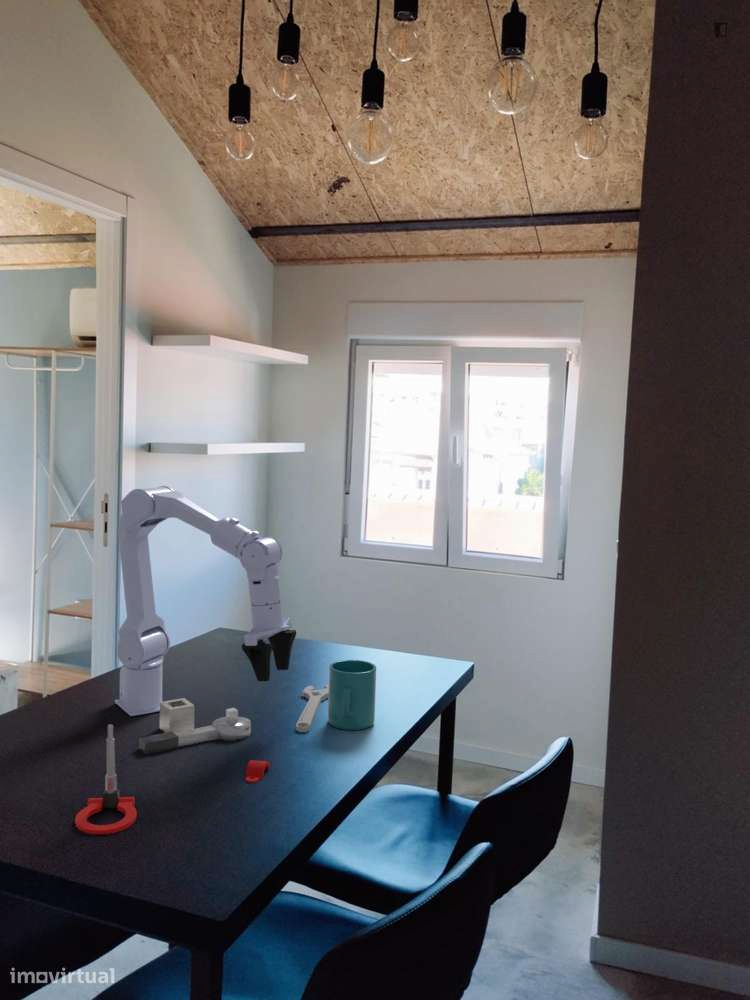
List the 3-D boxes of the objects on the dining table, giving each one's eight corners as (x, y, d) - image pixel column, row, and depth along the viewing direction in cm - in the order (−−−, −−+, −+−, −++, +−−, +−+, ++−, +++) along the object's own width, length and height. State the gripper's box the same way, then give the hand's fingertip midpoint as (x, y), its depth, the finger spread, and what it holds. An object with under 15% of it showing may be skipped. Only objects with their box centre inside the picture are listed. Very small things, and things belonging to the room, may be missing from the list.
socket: (159, 728, 158) (159, 702, 158) (183, 723, 161) (184, 697, 160) (169, 736, 154) (169, 709, 154) (194, 731, 157) (194, 705, 157)
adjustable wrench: (309, 736, 158) (309, 726, 158) (275, 733, 159) (275, 723, 159) (336, 692, 183) (336, 684, 183) (307, 690, 184) (307, 682, 184)
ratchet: (135, 745, 150) (135, 720, 149) (240, 723, 162) (240, 700, 161) (149, 758, 144) (149, 733, 144) (257, 735, 156) (257, 712, 156)
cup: (320, 735, 157) (322, 676, 156) (332, 713, 169) (334, 658, 168) (368, 739, 156) (370, 679, 155) (377, 716, 168) (379, 661, 167)
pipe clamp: (257, 764, 144) (257, 751, 144) (273, 765, 144) (273, 753, 144) (241, 784, 136) (241, 771, 136) (258, 785, 136) (258, 772, 136)
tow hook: (131, 837, 119) (141, 803, 128) (131, 749, 117) (140, 722, 126) (69, 839, 118) (83, 805, 127) (67, 751, 116) (81, 723, 125)
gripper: (266, 610, 149) (274, 686, 150) (302, 595, 162) (309, 664, 163) (231, 611, 151) (239, 685, 152) (270, 595, 165) (277, 664, 166)
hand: (273, 675), depth 158 cm, fingers open, 7 cm apart
